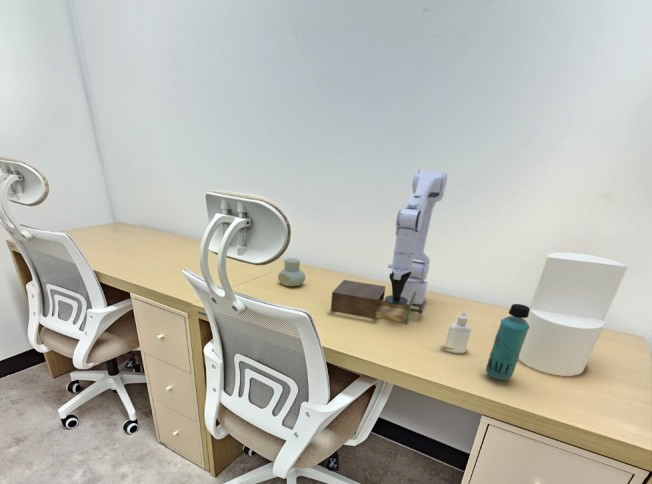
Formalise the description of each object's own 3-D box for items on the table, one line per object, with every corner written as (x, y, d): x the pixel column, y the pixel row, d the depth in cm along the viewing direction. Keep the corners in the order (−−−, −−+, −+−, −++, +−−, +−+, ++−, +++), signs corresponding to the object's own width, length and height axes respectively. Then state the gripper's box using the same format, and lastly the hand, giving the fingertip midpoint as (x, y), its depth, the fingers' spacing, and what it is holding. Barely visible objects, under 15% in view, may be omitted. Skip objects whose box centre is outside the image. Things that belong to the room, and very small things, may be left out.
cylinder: (512, 340, 121) (542, 249, 107) (576, 352, 115) (617, 257, 102) (517, 367, 106) (553, 266, 93) (590, 381, 101) (640, 276, 88)
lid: (409, 299, 125) (411, 286, 123) (405, 306, 119) (407, 294, 117) (387, 295, 127) (388, 283, 125) (382, 302, 121) (384, 290, 119)
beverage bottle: (503, 371, 104) (526, 300, 94) (515, 385, 99) (542, 311, 89) (479, 371, 104) (500, 300, 94) (490, 385, 98) (514, 311, 88)
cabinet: (382, 307, 140) (385, 286, 136) (374, 322, 129) (377, 299, 125) (342, 300, 145) (343, 279, 141) (330, 314, 133) (332, 292, 129)
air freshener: (308, 285, 158) (309, 260, 153) (294, 290, 152) (294, 265, 147) (289, 278, 164) (289, 255, 159) (274, 283, 159) (274, 258, 154)
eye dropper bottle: (461, 356, 111) (471, 317, 105) (441, 350, 114) (451, 311, 108) (466, 351, 114) (477, 313, 108) (447, 344, 117) (457, 307, 111)
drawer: (423, 312, 135) (427, 293, 132) (418, 328, 124) (422, 308, 121) (370, 303, 141) (373, 285, 138) (361, 318, 130) (363, 298, 126)
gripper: (394, 244, 123) (388, 286, 129) (385, 255, 111) (379, 301, 117) (417, 247, 120) (410, 290, 127) (411, 259, 109) (403, 305, 115)
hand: (396, 295), depth 122 cm, fingers closed on lid, 2 cm apart
